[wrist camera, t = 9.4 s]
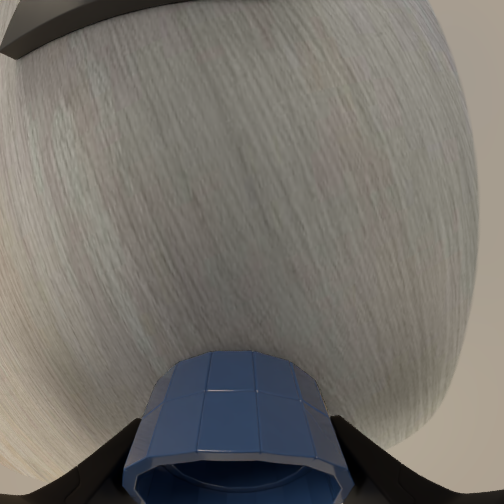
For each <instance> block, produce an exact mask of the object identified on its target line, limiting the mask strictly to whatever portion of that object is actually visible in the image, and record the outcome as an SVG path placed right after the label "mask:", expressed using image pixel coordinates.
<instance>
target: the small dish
mask: <svg viewBox="0 0 504 504" xmlns="http://www.w3.org/2000/svg"><path fill="white" fill-rule="evenodd" d="M354 484H355V482H354V480H353V477H352V474H351V471H350V469H349V466H348V463H347V461H346V458H345V455H344V452H343V450H342V447H341V444H340V442H339V439H338V437H337V434H336V431H335V428H334V426H333V423H332V420H331V418H330V415H329V412H328V410H327V407H326V404H325V402H324V399H323V397H322V395H321V392H320V390H319V388H318V385H317V383H316V381H315V380H314V379H313V378H312V377H311V376H309V375H308V374H307V373H305V372H304V371H303V370H301V369H300V368H299V367H297V366H296V365H295V364H293V363H292V362H289V361H288V360H285V359H281V358H278V357H274V356H271V355H267V354H264V353H260V352H257V351H253V352H252V351H251V350H246V351H213V352H212V351H210V352H207V353H204V354H201V355H198V356H195V357H192V358H189V359H186V360H183V361H180V362H178V363H177V364H175V365H174V366H173V367H172V368H171V369H170V370H169V371H168V372H167V373H166V374H164V375H163V376H162V377H161V378H160V379H159V380H158V381H157V383H156V384H155V387H154V389H153V392H152V394H151V397H150V399H149V402H148V404H147V407H146V409H145V412H144V415H143V417H142V420H141V422H140V425H139V427H138V430H137V433H136V435H135V438H134V441H133V443H132V446H131V449H130V452H129V454H128V457H127V460H126V463H125V465H124V468H123V477H122V486H123V488H124V489H125V490H126V491H127V493H128V494H129V495H130V496H131V497H132V499H133V500H134V501H135V502H136V503H137V504H342V503H343V502H344V501H345V500H346V498H347V497H348V495H349V493H350V492H351V490H352V488H353V487H354Z"/></svg>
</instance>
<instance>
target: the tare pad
mask: <svg viewBox="0 0 504 504" xmlns="http://www.w3.org/2000/svg"><path fill="white" fill-rule="evenodd" d="M181 1H188V0H20V2H19V4H18V6H17V8H16V10H15V12H14V14H13V16H12V19H11V21H10V23H9V26H8V28H7V30H6V33H5V35H4V38H3V40H2V43H1V46H0V53H2V54H4V55H7V56H9V57H11V58H13V59H15V60H16V59H18V58H20V57H22V56H23V55H25V54H27V53H29V52H30V51H32V50H34V49H36V48H38V47H40V46H42V45H44V44H46V43H48V42H50V41H52V40H54V39H56V38H58V37H60V36H62V35H65V34H67V33H69V32H72V31H74V30H77V29H79V28H82V27H84V26H87V25H90V24H92V23H95V22H98V21H101V20H104V19H107V18H110V17H113V16H117V15H120V14H124V13H127V12H131V11H135V10H139V9H143V8H148V7H153V6H157V5H163V4H168V3H174V2H181Z"/></svg>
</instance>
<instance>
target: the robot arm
mask: <svg viewBox="0 0 504 504" xmlns="http://www.w3.org/2000/svg"><path fill="white" fill-rule="evenodd" d="M330 418H331V420H332V423H333V426H334V428H335V431H336V434H337V437H338V439H339V442H340V444H341V447H342V450H343V452H344V455H345V458H346V461H347V463H348V466H349V469H350V471H351V474H352V477H353V480H354V482H355V484H354V487H353V488H352V490H351V492H350V493H349V495H348V497H347V498H346V500H345V501H344V502H343V504H504V490H497V491H490V492H481V493H469V494H464V493H457V492H454V491H451V490H449V489H446V488H444V487H442V486H440V485H438V484H436V483H433V482H432V481H430V480H427V479H426V478H424V477H422V476H420V475H418V474H417V473H415V472H414V471H412V470H411V469H409V468H408V467H406V466H405V465H404V464H401V462H399V461H398V460H396V459H395V458H394V457H392V456H391V455H390V454H388V453H387V452H386V451H384V450H383V449H382V448H380V447H379V446H378V445H376V444H375V443H374V442H372V441H371V440H370V439H369V438H367V437H366V436H365V435H363V434H362V433H361V432H360V431H358V430H357V429H356V428H355V427H353V426H352V425H351V424H350V423H348V422H347V421H346V420H345V419H344V418H342V417H341V416H339V415H337V416H331V417H330ZM141 420H142V419H140V418H136V419H135V420H133V421H132V422H131V423H130V424H129V425H127V426H126V427H125V428H124V429H123V430H121V431H120V432H119V433H118V434H117V435H115V436H114V437H113V438H112V439H110V440H109V441H108V442H107V443H105V444H104V445H103V446H102V447H100V448H99V449H98V450H97V451H95V452H94V453H93V454H92V455H90V456H89V457H88V458H86V459H85V460H84V461H82V462H81V463H80V464H79V465H78V467H77V466H76V467H74V468H73V469H72V470H70V471H69V472H68V473H66V474H65V475H63V476H62V477H60V478H58V479H57V480H55V481H53V482H52V483H50V484H48V485H46V486H44V487H42V488H40V489H38V490H36V491H34V492H32V493H30V494H26V495H7V494H0V504H137V503H136V502H135V501H134V500H133V499H132V497H131V496H130V495H129V494H128V493H127V491H126V490H125V489H124V488H123V486H122V477H123V468H124V465H125V463H126V460H127V457H128V454H129V452H130V449H131V446H132V443H133V441H134V438H135V435H136V433H137V430H138V427H139V425H140V422H141Z"/></svg>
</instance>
